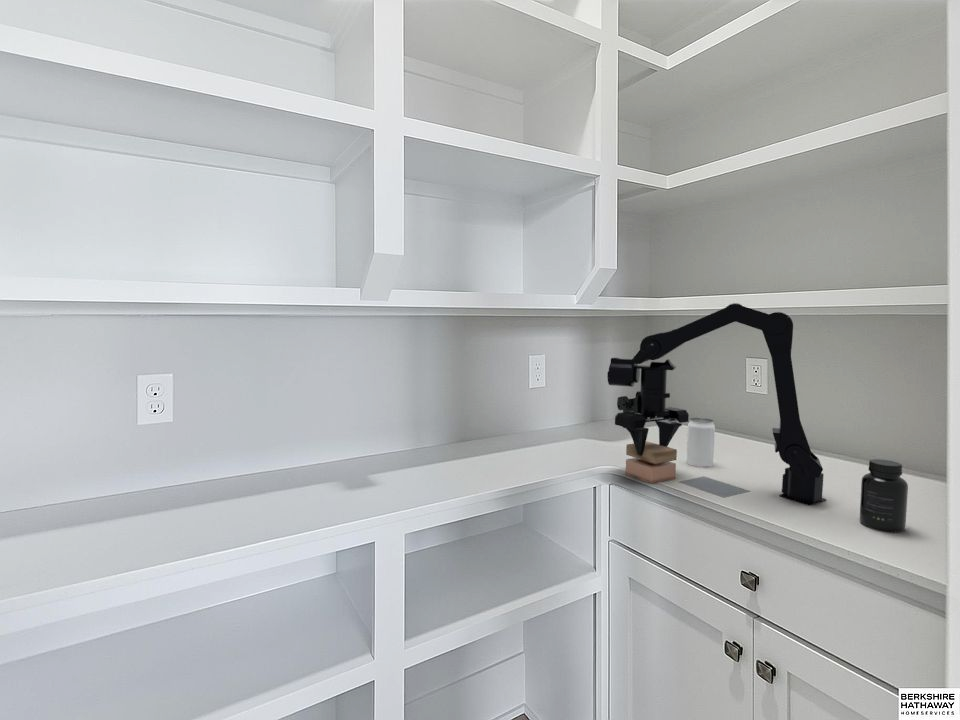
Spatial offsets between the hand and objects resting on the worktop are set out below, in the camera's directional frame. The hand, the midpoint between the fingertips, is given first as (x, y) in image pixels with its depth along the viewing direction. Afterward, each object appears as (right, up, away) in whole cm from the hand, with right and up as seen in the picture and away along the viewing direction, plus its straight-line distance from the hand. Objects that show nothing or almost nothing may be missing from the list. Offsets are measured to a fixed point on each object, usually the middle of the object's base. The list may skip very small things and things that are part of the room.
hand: (651, 453), depth 125 cm
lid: (0, -1, 0) cm, 1 cm away
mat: (+12, -7, -7) cm, 15 cm away
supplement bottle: (+34, -9, -28) cm, 44 cm away
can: (+17, -5, +12) cm, 21 cm away
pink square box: (0, -6, +1) cm, 6 cm away
